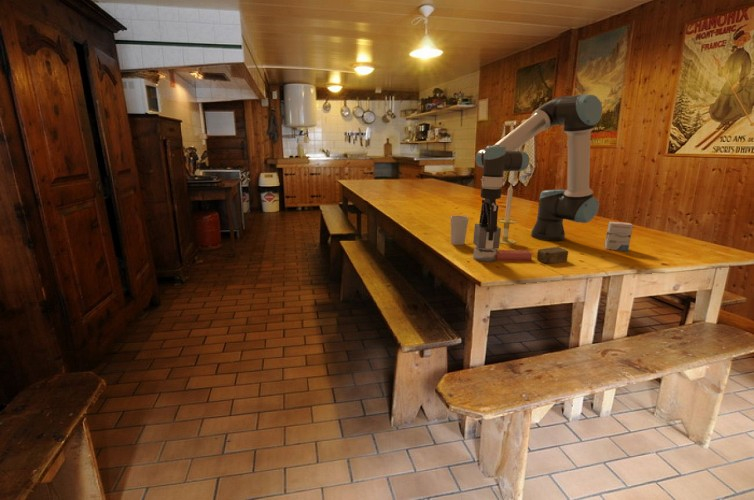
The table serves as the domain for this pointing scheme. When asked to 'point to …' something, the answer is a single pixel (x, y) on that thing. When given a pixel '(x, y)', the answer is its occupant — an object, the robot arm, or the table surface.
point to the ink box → (618, 236)
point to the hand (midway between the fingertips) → (485, 245)
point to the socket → (481, 236)
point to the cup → (458, 229)
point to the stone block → (552, 255)
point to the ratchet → (500, 255)
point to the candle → (507, 219)
